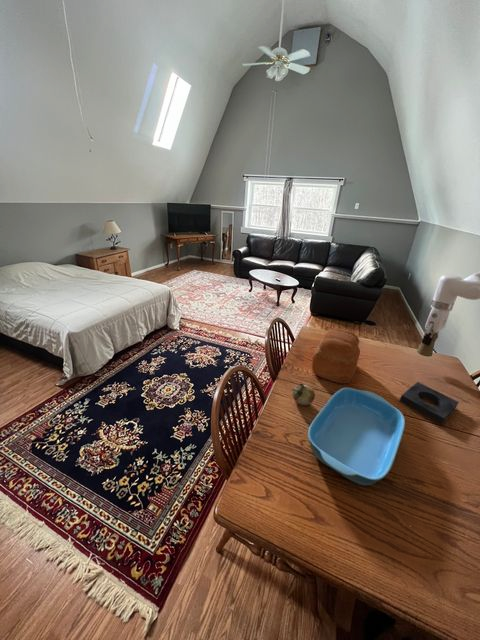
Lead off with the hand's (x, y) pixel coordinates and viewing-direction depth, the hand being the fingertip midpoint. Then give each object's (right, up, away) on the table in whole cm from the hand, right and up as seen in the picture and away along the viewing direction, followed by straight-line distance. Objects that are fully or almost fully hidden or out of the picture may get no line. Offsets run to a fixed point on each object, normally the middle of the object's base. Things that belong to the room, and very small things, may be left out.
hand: (428, 341), depth 120 cm
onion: (-62, -20, -22) cm, 69 cm away
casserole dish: (-49, -28, -36) cm, 67 cm away
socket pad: (-15, -22, -20) cm, 33 cm away
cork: (0, -5, +3) cm, 6 cm away
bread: (-43, -12, -2) cm, 45 cm away
